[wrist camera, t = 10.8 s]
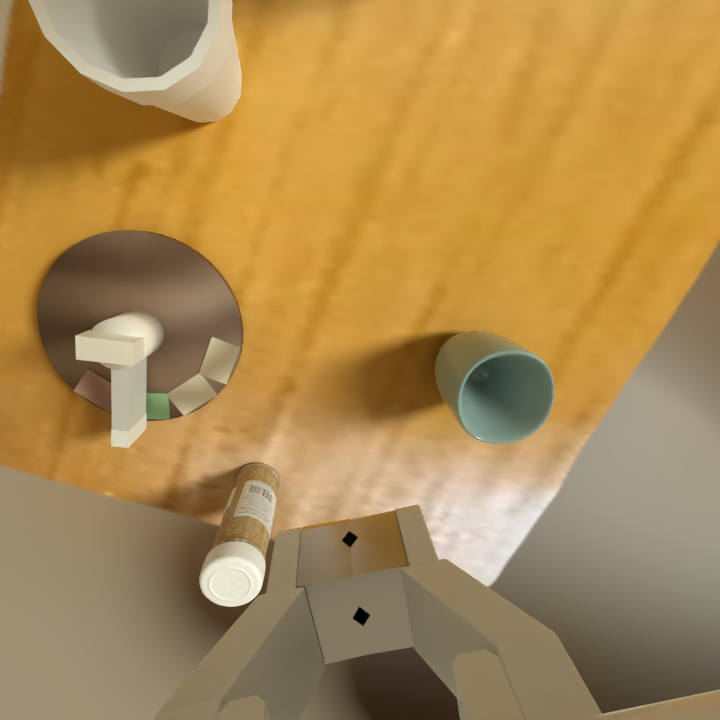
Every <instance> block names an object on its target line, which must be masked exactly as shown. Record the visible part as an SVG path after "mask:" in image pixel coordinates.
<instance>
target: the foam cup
mask: <svg viewBox="0 0 720 720" xmlns="http://www.w3.org/2000/svg"><path fill="white" fill-rule="evenodd" d="M28 1H29V3H30V5H31V8H32V10H33V12H34V14H35V17H36V19H37V21H38V23H39V26H40V28H41V30H42V32H43V34H44V36H45V38H46V39H47V40H48V41H49V42H50V43H51V44H52V45H53V46H54V47H55V48H56V49H57V50H58V51H59V52H60V53H61V54H62V55H63V56H64V57H65V58H66V59H67V60H68V61H69V62H70V63H71V64H72V65H73V66H74V67H75V68H76V69H77V70H78V71H79V72H80V73H81V74H82V75H84V76H85V77H87V78H88V79H90V80H91V81H93V82H94V83H96V84H97V85H99V86H100V87H102V88H103V89H106V90H108V91H110V92H112V93H115V94H117V95H119V96H122V97H124V98H126V99H129V100H131V101H133V102H136V103H138V104H140V105H153V106H155V107H158V108H161V109H163V110H166V111H168V112H171V113H174V114H176V115H179V116H182V117H184V118H187V119H189V120H192V121H195V122H198V123H204V122H217V121H219V120H220V119H222V118H223V117H225V116H226V115H228V114H230V113H231V112H232V110H233V108H234V107H235V105H236V103H237V101H238V99H239V98H240V94H241V80H242V75H241V68H240V62H239V56H238V51H237V45H236V40H235V34H234V28H233V23H232V7H233V3H232V0H28Z"/></svg>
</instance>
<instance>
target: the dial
mask: <svg viewBox="0 0 720 720" xmlns="http://www.w3.org/2000/svg"><path fill="white" fill-rule="evenodd" d="M131 310H143V311H146V312H149V313H151V314H152V315H154V316H155V317H156V318H157V319H158V320H159V321H160V323H161V325H162V327H163V330H164V340H163V343H162V345H161V346H160V348H159V349H158V350H156V351H155V352H153V353H152V354H150V355H149V356H147V378H146V414H147V420H148V421H157V420H170V419H173V418H178V417H181V416H185V415H187V414H189V413H191V412H194V411H196V410H198V409H200V408H201V407H203V406H204V405H206V404H207V403H209V402H210V401H211V400H212V399H213V398H215V397H216V396H217V395H218V394H219V393H220V391H221V390H222V389H223V388H224V387H225V385H226V384H227V382H228V381H229V379H230V378H231V376H232V375H233V373H234V371H235V369H236V366H237V364H238V362H239V358H240V355H241V351H242V344H243V325H242V317H241V314H240V310H239V306H238V303H237V301H236V299H235V296H234V294H233V292H232V290H231V288H230V287H229V285H228V283H227V281H226V280H225V279H224V277H223V276H222V275H221V273H220V272H219V271H218V270H217V269H216V268H215V267H214V266H213V265H212V263H211V262H210V261H208V260H207V259H206V258H205V257H204V256H202V255H201V254H200V253H199V252H197V251H196V250H194V249H192V248H191V247H189V246H188V245H186V244H184V243H182V242H180V241H178V240H176V239H173V238H170V237H167V236H164V235H161V234H157V233H152V232H146V231H133V230H126V231H112V232H106V233H101V234H98V235H95V236H92V237H89V238H87V239H85V240H83V241H81V242H79V243H77V244H75V245H74V246H73V247H71V248H70V249H68V250H67V251H66V252H65V253H64V254H63V255H62V256H61V257H60V258H59V259H58V260H57V261H56V262H55V264H54V265H53V266H52V268H51V269H50V270H49V272H48V274H47V276H46V278H45V280H44V282H43V285H42V288H41V292H40V296H39V302H38V325H39V332H40V336H41V340H42V343H43V346H44V348H45V351H46V353H47V355H48V357H49V359H50V361H51V363H52V364H53V366H54V368H55V369H56V370H57V372H58V373H59V375H60V376H61V377H62V378H63V380H64V381H65V382H66V383H67V384H68V385H69V386H70V387H71V388H72V389H73V390H74V392H76V393H78V394H79V395H80V396H81V397H83V398H84V399H86V400H87V401H89V402H90V403H92V404H94V405H95V406H97V407H99V408H101V409H103V410H105V411H108V412H109V413H111V414H112V404H111V369H110V368H107V367H105V366H103V365H102V364H100V363H99V362H93V361H85V360H76V346H75V336H76V335H78V334H81V333H83V332H86V331H88V330H92V329H93V327H94V326H95V325H97V324H98V323H100V322H102V321H105V320H107V319H110V318H112V317H115V316H118V315H120V314H123V313H125V312H128V311H131Z"/></svg>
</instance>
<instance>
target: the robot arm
mask: <svg viewBox="0 0 720 720" xmlns="http://www.w3.org/2000/svg"><path fill="white" fill-rule="evenodd" d="M408 647H414V648H415V650H416V651H417V652H418V653H419V655H420V656H421V657H422V658H423V659H424V660H425V661H426V663H427V664H428V665H429V666H430V667H431V668H432V670H433V671H434V672H435V673H436V674H437V675H438V676H439V678H440V679H441V680H442V681H443V682H444V683H445V684H446V686H447V687H448V688H449V689H450V690H451V692H452V693H453V694H454V695H455V696H456V697H457V699H458V707H459V714H460V720H720V690H716V691H711V692H706V693H701V694H696V695H691V696H687V697H682V698H677V699H672V700H667V701H663V702H658V703H653V704H648V705H643V706H638V707H633V708H629V709H624V710H619V711H614V712H609V713H604V714H602V713H601V711H600V709H599V708H598V706H597V704H596V703H595V701H594V699H593V697H592V696H591V694H590V692H589V690H588V689H587V687H586V685H585V683H584V682H583V680H582V678H581V676H580V675H579V673H578V671H577V669H576V668H575V666H574V664H573V662H572V661H571V659H570V657H569V656H568V654H567V652H566V650H565V649H564V647H563V645H562V643H561V642H560V640H559V638H558V636H557V635H556V633H555V632H553V631H552V630H550V629H549V628H547V627H546V626H544V625H543V624H541V623H540V622H538V621H537V620H535V619H534V618H532V617H531V616H529V615H528V614H526V613H525V612H524V611H522V610H521V609H519V608H518V607H516V606H515V605H513V604H512V603H510V602H509V601H507V600H506V599H504V598H503V597H501V596H500V595H498V594H497V593H495V592H494V591H493V590H491V589H490V588H488V587H487V586H485V585H484V584H482V583H481V582H479V581H478V580H476V579H475V578H473V577H472V576H470V575H469V574H467V573H466V572H464V571H463V570H462V569H460V568H459V567H457V566H456V565H454V564H453V563H451V562H450V561H448V560H447V559H442V560H438V557H437V554H436V552H435V549H434V546H433V543H432V540H431V537H430V534H429V531H428V528H427V526H426V523H425V520H424V517H423V514H422V511H421V508H420V506H418V505H413V506H409V507H404V508H400V509H395V511H390V512H385V513H380V514H375V515H370V516H364V517H359V518H354V519H347V520H341V521H335V522H329V523H323V524H317V525H311V526H305V527H303V528H301V527H300V528H295V529H289V530H284V531H279V532H278V534H277V536H276V539H275V545H274V550H273V556H272V562H271V568H270V574H269V579H268V586H267V591H266V594H263V595H259V596H258V597H257V598H256V599H255V600H254V601H253V603H252V604H251V605H250V606H249V607H248V608H247V609H246V611H245V612H244V613H243V614H242V615H241V616H240V618H239V619H238V620H237V621H236V622H235V623H234V624H233V626H232V627H231V628H230V629H229V630H228V631H227V633H226V634H225V635H224V636H223V637H222V638H221V639H220V641H219V642H218V643H217V644H216V645H215V646H214V648H213V649H212V650H211V651H210V652H209V653H208V654H207V656H206V657H205V658H204V659H203V660H202V661H201V663H200V664H199V665H198V666H197V667H196V668H195V669H194V671H193V672H192V673H191V674H190V675H189V676H188V678H187V679H186V680H185V681H184V682H183V683H182V685H181V686H180V687H179V688H178V689H177V690H176V691H175V692H174V694H173V695H172V696H171V697H170V698H169V699H168V701H167V702H166V703H165V704H164V705H163V707H162V708H161V709H160V710H159V711H158V712H157V715H156V718H155V720H300V718H301V716H302V714H303V712H304V710H305V708H306V706H307V704H308V702H309V700H310V698H311V696H312V694H313V691H314V689H315V687H316V685H317V683H318V681H319V679H320V677H321V675H322V673H323V671H324V668H325V666H324V665H325V664H329V663H333V662H337V661H342V660H346V659H350V658H354V657H359V656H363V655H367V654H373V653H379V652H385V651H390V650H397V649H402V648H408Z"/></svg>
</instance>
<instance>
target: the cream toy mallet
mask: <svg viewBox="0 0 720 720" xmlns="http://www.w3.org/2000/svg"><path fill="white" fill-rule="evenodd" d="M163 340H164V330H163V327H162V325H161V323H160V321H159V320H158V319H157V318H156V317H155V316H154V315H152V314H151V313H149V312H146V311H143V310H131V311H128V312H125V313H123V314H120V315H118V316H115V317H112V318H110V319H107V320H105V321H102V322H100V323H98V324H97V325H95V326H94V327H93V329H92V330H88V331H86V332H83V333H81V334H78V335H76V336H75V346H76V360H85V361H93V362H99V363H100V364H102V365H103V366H105V367H107V368H110V369H111V404H112V430H111V446H115V447H125V448H129V447H130V445H131V444H132V443H133V442H134V441H135V440H136V439H137V438H138V437H139V436H140V435H141V434H142V433H143V432H144V430H145V429H146V422H147V414H146V378H147V356H149V355H150V354H152V353H153V352H155V351H156V350H158V349H159V348H160V346H161V345H162V343H163Z"/></svg>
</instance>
